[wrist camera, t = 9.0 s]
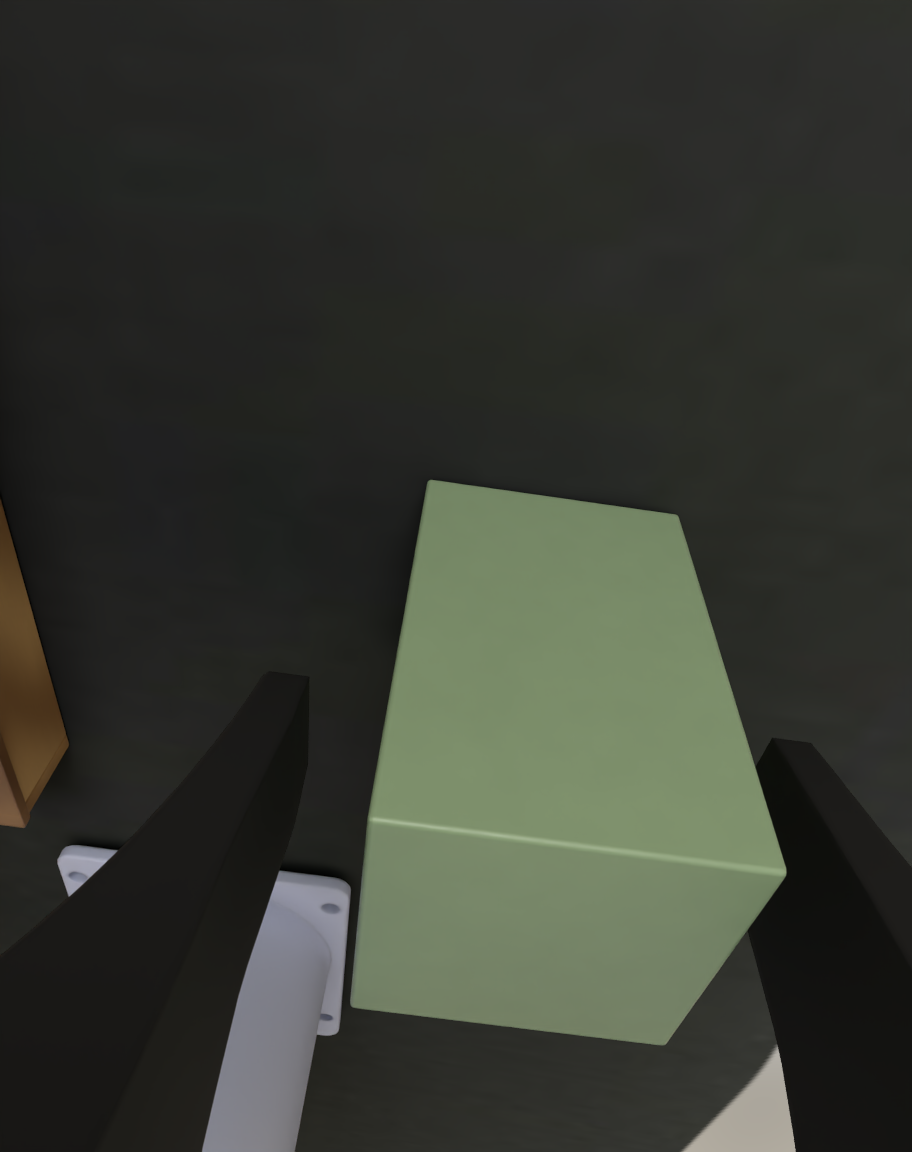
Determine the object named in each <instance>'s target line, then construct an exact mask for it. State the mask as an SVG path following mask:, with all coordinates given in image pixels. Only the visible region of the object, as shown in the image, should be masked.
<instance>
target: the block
mask: <svg viewBox="0 0 912 1152" xmlns="http://www.w3.org/2000/svg"><path fill="white" fill-rule="evenodd" d="M785 877H786V866H785V863H784V860H783V857H782V853H781V850H780V847H779V844H778V840H777V837H776V834H775V831H774V827H773V824H772V821H771V817H770V814H769V811H768V808H767V804H766V801H765V798H764V795H763V791H762V788H761V785H760V782H759V778H758V775H757V772H756V768H755V765H754V762H753V759H752V755H751V752H750V749H749V746H748V742H747V739H746V736H745V733H744V729H743V726H742V723H741V719H740V716H739V713H738V710H737V706H736V703H735V700H734V697H733V693H732V690H731V687H730V683H729V680H728V677H727V674H726V670H725V667H724V664H723V661H722V657H721V654H720V651H719V648H718V644H717V641H716V638H715V634H714V631H713V628H712V625H711V621H710V618H709V615H708V612H707V608H706V605H705V602H704V599H703V595H702V592H701V589H700V585H699V582H698V579H697V576H696V572H695V569H694V566H693V563H692V559H691V556H690V553H689V549H688V546H687V543H686V540H685V536H684V533H683V530H682V527H681V523H680V520H679V517H678V516H677V515H675V514H668V513H661V512H654V511H647V510H640V509H633V508H626V507H619V506H612V505H605V504H598V503H591V502H584V501H577V500H570V499H563V498H556V497H549V496H542V495H535V494H528V493H521V492H514V491H507V490H500V489H493V488H486V487H479V486H472V485H464V484H457V483H450V482H443V481H436V480H429V481H428V483H427V487H426V492H425V498H424V504H423V509H422V515H421V520H420V526H419V532H418V537H417V543H416V549H415V554H414V560H413V565H412V571H411V577H410V582H409V588H408V593H407V599H406V605H405V610H404V616H403V622H402V627H401V633H400V638H399V644H398V650H397V655H396V661H395V667H394V672H393V678H392V683H391V689H390V695H389V700H388V706H387V712H386V717H385V723H384V728H383V734H382V740H381V745H380V751H379V756H378V762H377V768H376V773H375V779H374V785H373V790H372V796H371V801H370V807H369V813H368V818H367V829H366V840H365V850H364V861H363V871H362V882H361V892H360V903H359V914H358V924H357V935H356V945H355V956H354V966H353V977H352V988H351V998H350V1003H351V1006H352V1007H354V1008H360V1009H368V1010H376V1011H384V1012H393V1013H401V1014H409V1015H417V1016H425V1017H434V1018H442V1019H450V1020H458V1021H466V1022H475V1023H483V1024H491V1025H499V1026H507V1027H515V1028H524V1029H532V1030H540V1031H548V1032H556V1033H565V1034H573V1035H581V1036H589V1037H597V1038H606V1039H614V1040H622V1041H630V1042H638V1043H647V1044H655V1045H665V1044H666V1043H667V1042H668V1040H669V1039H670V1038H671V1036H672V1035H673V1033H674V1032H675V1031H676V1029H677V1028H678V1026H679V1025H680V1024H681V1022H682V1021H683V1019H684V1018H685V1017H686V1015H687V1014H688V1012H689V1011H690V1010H691V1008H692V1007H693V1005H694V1004H695V1003H696V1001H697V1000H698V998H699V997H700V996H701V994H702V993H703V991H704V990H705V989H706V987H707V986H708V984H709V983H710V982H711V980H712V979H713V977H714V976H715V975H716V973H717V972H718V971H719V969H720V968H721V966H722V965H723V964H724V962H725V961H726V959H727V958H728V957H729V955H730V954H731V952H732V951H733V950H734V948H735V947H736V945H737V944H738V943H739V941H740V940H741V938H742V937H743V936H744V934H745V933H746V931H747V930H748V929H749V927H750V926H751V924H752V923H753V922H754V920H755V919H756V917H757V916H758V915H759V913H760V912H761V910H762V909H763V908H764V906H765V905H766V904H767V902H768V901H769V899H770V898H771V897H772V895H773V894H774V892H775V891H776V890H777V888H778V887H779V885H780V884H781V883H782V881H783V880H784V878H785Z"/></svg>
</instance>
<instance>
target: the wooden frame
mask: <svg viewBox="0 0 912 1152" xmlns="http://www.w3.org/2000/svg"><path fill="white" fill-rule="evenodd" d="M68 746H69V742H68V739H67V736H66V732H65V728H64V725H63V721H62V717H61V714H60V710H59V707H58V703H57V699H56V696H55V692H54V689H53V685H52V681H51V678H50V674H49V671H48V667H47V664H46V660H45V656H44V653H43V649H42V646H41V642H40V638H39V635H38V631H37V628H36V624H35V620H34V617H33V613H32V610H31V606H30V603H29V599H28V595H27V592H26V588H25V585H24V581H23V577H22V574H21V570H20V567H19V563H18V559H17V556H16V552H15V549H14V545H13V542H12V538H11V534H10V531H9V527H8V524H7V520H6V516H5V513H4V509H3V506H2V502H1V498H0V825H6V826H14V827H22V828H24V827H25V826H26V824H27V823H28V821H29V819H30V817H31V816H30V811H31V809H32V807H33V806H34V804H35V802H36V801H37V799H38V797H39V796H40V794H41V792H42V790H43V789H44V787H45V785H46V784H47V782H48V780H49V779H50V777H51V775H52V773H53V772H54V770H55V768H56V767H57V765H58V763H59V762H60V760H61V758H62V756H63V755H64V753H65V751H66V750H67V748H68Z"/></svg>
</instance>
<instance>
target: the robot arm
mask: <svg viewBox="0 0 912 1152" xmlns="http://www.w3.org/2000/svg"><path fill="white" fill-rule="evenodd" d="M308 729H309V677H308V676H300V675H293V674H285V673H278V672H270V671H269V672H268V673H266V674H264V675H263V676H262V677H261V679H260V680H259V682H258V683H257V685H256V686H255V688H254V689H253V691H252V692H251V694H250V695H249V697H248V698H247V700H246V701H245V703H244V704H243V705H242V707H241V708H240V710H239V711H238V712H237V714H236V715H235V716H234V718H233V719H232V721H231V722H230V723H229V724H228V726H227V727H226V728H225V730H224V731H223V732H222V734H221V735H220V736H219V738H218V739H217V740H216V741H215V743H214V744H213V745H212V746H211V748H210V749H209V750H208V751H207V752H206V754H205V755H204V756H203V757H202V758H201V760H200V761H199V762H198V763H197V764H196V766H195V767H194V768H193V769H192V771H191V772H190V773H189V774H188V775H187V777H186V778H185V779H184V780H183V781H182V782H181V784H180V785H179V786H178V787H177V788H176V789H175V790H174V792H173V793H172V794H171V795H170V796H169V797H168V798H167V799H166V800H165V801H164V802H163V804H162V805H161V806H160V807H159V808H158V809H157V810H156V811H155V812H154V813H153V814H152V815H151V817H150V818H149V819H148V820H147V821H146V822H145V823H144V824H143V825H142V826H141V827H140V829H139V830H138V831H137V832H136V833H135V834H134V835H133V836H132V837H131V838H130V839H129V840H128V841H127V842H126V843H125V844H124V845H123V846H122V847H121V848H120V849H119V850H114V849H106V848H98V847H91V846H83V845H71V846H67V847H65V848H64V849H63V850H62V852H61V854H60V856H59V858H58V862H57V864H58V866H59V869H60V872H61V875H62V878H63V881H64V884H65V887H66V890H67V893H68V896H69V897H68V898H67V899H66V900H65V901H64V902H62V903H61V904H60V905H59V906H58V907H57V908H56V909H54V910H53V911H52V912H51V913H50V914H49V915H48V916H46V917H45V918H44V919H43V920H42V921H41V922H40V923H38V924H37V925H36V926H35V927H34V928H33V929H32V930H30V931H29V932H28V933H27V934H26V935H24V936H23V937H22V938H21V939H20V940H18V941H17V942H16V943H15V944H14V945H12V946H11V947H10V948H9V949H8V950H6V951H5V952H4V953H3V954H1V955H0V1152H295V1146H296V1141H297V1136H298V1130H299V1125H300V1120H301V1115H302V1109H303V1104H304V1099H305V1093H306V1088H307V1083H308V1078H309V1072H310V1067H311V1062H312V1056H313V1051H314V1046H315V1041H316V1035H327V1036H329V1035H334V1034H336V1033H337V1032H338V1031H339V1026H340V1019H341V1007H342V994H343V982H344V969H345V957H346V945H347V932H348V920H349V908H350V895H351V888H350V886H349V885H348V884H347V883H346V882H345V881H344V880H342V879H339V878H335V877H328V876H320V875H312V874H304V873H296V872H288V871H280V867H281V864H282V861H283V858H284V855H285V852H286V849H287V846H288V843H289V840H290V837H291V834H292V831H293V828H294V824H295V820H296V815H297V811H298V806H299V802H300V798H301V793H302V788H303V784H304V779H305V774H306V770H307V765H308ZM755 768H756V772H757V775H758V778H759V782H760V785H761V788H762V791H763V795H764V798H765V801H766V804H767V808H768V811H769V814H770V817H771V821H772V824H773V827H774V831H775V834H776V837H777V840H778V844H779V847H780V850H781V853H782V857H783V860H784V863H785V866H786V877H785V878H784V880H783V881H782V883H781V884H780V885H779V887H778V888H777V890H776V891H775V892H774V894H773V895H772V897H771V898H770V899H769V901H768V902H767V904H766V905H765V906H764V908H763V909H762V910H761V912H760V913H759V915H758V916H757V917H756V919H755V920H754V922H753V923H752V924H751V926H750V927H749V929H748V933H749V937H750V941H751V944H752V948H753V952H754V956H755V959H756V963H757V967H758V971H759V974H760V978H761V982H762V986H763V989H764V993H765V997H766V1001H767V1005H768V1008H769V1012H770V1016H771V1020H772V1023H773V1027H774V1031H775V1036H776V1040H777V1045H778V1049H779V1053H780V1058H781V1063H782V1068H783V1074H784V1080H785V1086H786V1092H787V1099H788V1104H789V1111H790V1116H791V1123H792V1128H793V1135H794V1142H795V1149H796V1152H912V867H911V866H910V865H909V864H908V863H907V861H906V860H905V859H904V858H903V857H902V855H901V854H900V853H899V852H898V851H897V849H896V848H895V847H894V846H893V845H892V843H891V842H890V841H889V840H888V838H887V837H886V836H885V835H884V833H883V832H882V831H881V830H880V828H879V827H878V826H877V825H876V824H875V822H874V821H873V820H872V818H871V817H870V816H869V815H868V813H867V812H866V811H865V810H864V808H863V807H862V806H861V805H860V803H859V802H858V801H857V800H856V798H855V797H854V796H853V795H852V793H851V792H850V791H849V790H848V788H847V787H846V786H845V785H844V783H843V782H842V781H841V779H840V778H839V777H838V776H837V774H836V773H835V772H834V771H833V769H832V768H831V767H830V766H829V764H828V763H827V762H826V761H825V759H824V758H823V757H822V756H821V755H820V753H819V752H818V751H817V750H816V749H815V747H814V746H813V745H812V744H811V743H807V742H800V741H792V740H784V739H777V738H772V739H771V741H770V743H769V745H768V746H767V748H766V750H765V752H764V753H763V755H762V757H761V759H760V760H759V762H758V764H757V766H756V767H755Z"/></svg>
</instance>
